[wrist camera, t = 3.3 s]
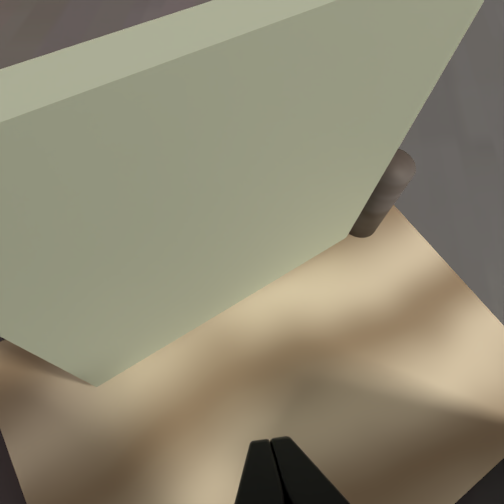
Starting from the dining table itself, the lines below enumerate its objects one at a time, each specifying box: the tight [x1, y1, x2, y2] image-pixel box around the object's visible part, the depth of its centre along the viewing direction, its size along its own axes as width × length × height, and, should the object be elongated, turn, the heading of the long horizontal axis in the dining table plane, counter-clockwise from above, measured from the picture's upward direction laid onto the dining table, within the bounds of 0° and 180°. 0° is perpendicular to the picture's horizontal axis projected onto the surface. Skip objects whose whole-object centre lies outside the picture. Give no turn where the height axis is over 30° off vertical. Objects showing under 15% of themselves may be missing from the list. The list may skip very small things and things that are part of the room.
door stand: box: [0, 149, 504, 504], centre depth 16 cm, size 16×22×6 cm
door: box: [0, 0, 484, 387], centre depth 13 cm, size 3×14×14 cm, turn 123°
